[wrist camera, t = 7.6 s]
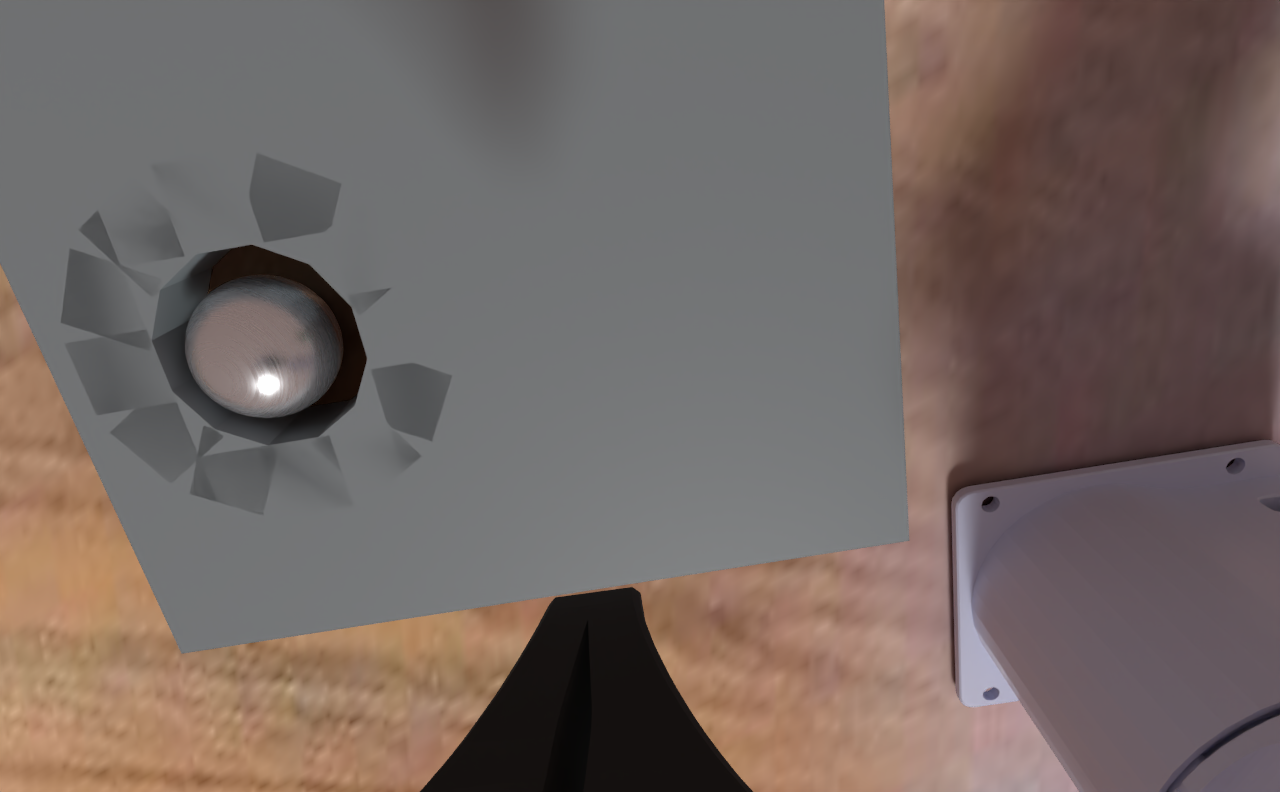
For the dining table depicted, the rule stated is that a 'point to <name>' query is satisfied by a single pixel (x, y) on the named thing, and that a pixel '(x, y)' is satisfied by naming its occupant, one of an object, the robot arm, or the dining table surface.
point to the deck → (467, 289)
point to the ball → (264, 346)
